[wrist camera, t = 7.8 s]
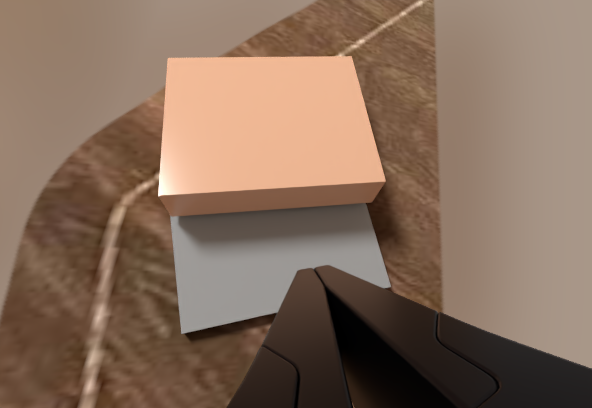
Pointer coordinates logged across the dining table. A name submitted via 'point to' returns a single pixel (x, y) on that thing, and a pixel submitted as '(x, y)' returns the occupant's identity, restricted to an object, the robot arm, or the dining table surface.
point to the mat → (265, 258)
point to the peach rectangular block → (265, 135)
